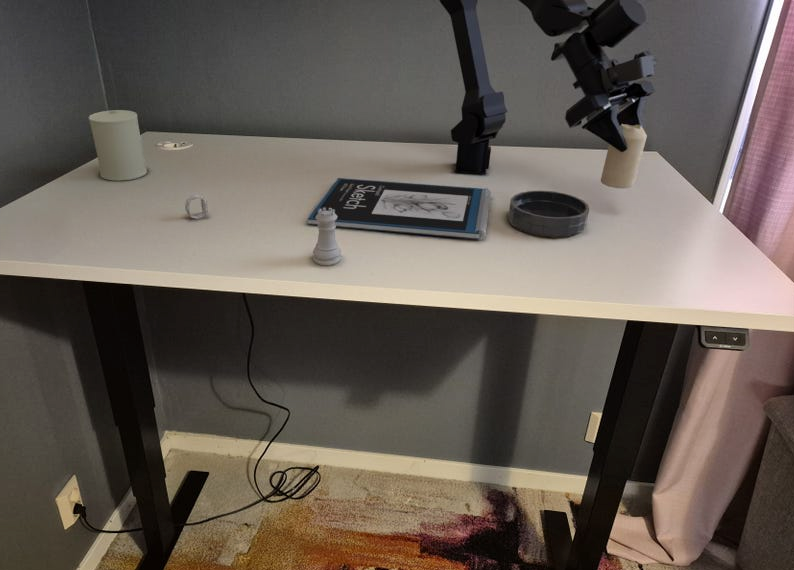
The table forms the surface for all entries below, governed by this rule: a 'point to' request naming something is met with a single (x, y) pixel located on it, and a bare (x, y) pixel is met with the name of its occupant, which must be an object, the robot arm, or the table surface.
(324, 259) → the rook chess piece
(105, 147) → the can
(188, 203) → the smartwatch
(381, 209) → the sketchbook
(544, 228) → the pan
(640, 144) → the candle
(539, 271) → the table surface
